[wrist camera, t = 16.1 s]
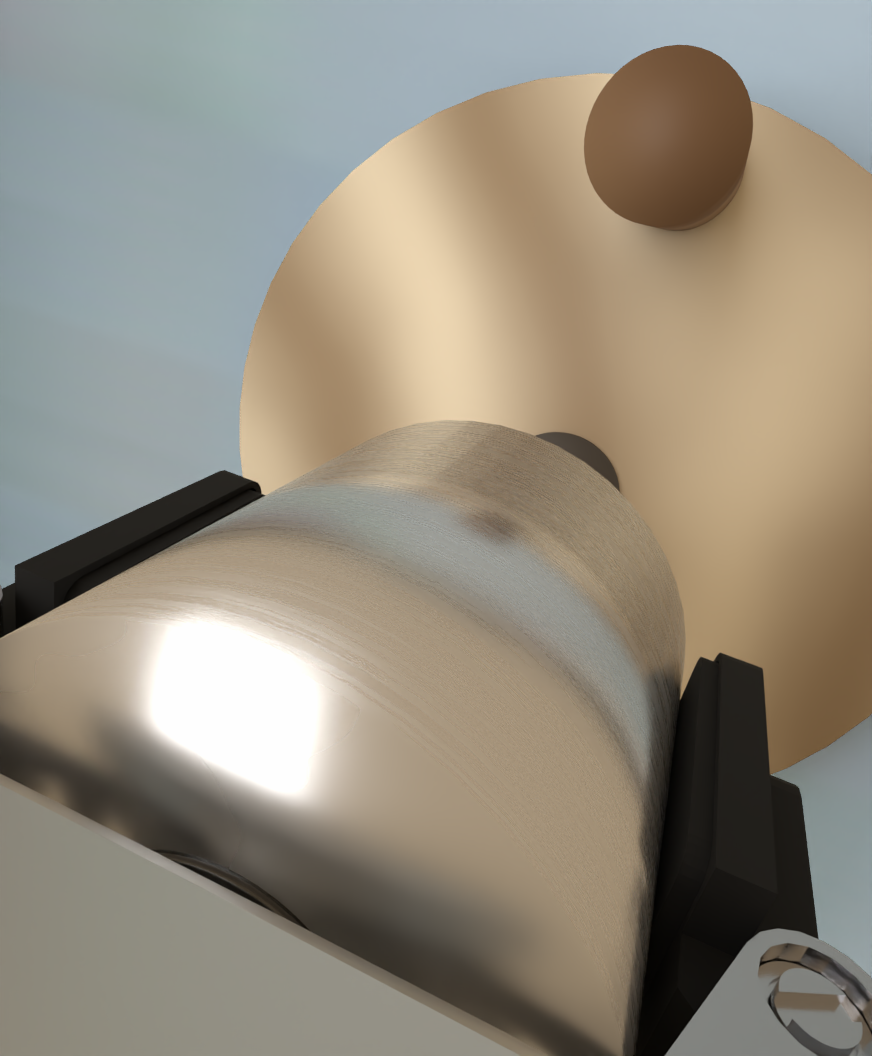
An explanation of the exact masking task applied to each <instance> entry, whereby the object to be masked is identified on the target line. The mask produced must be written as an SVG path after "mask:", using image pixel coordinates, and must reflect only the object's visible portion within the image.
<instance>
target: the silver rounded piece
mask: <svg viewBox="0 0 872 1056" xmlns="http://www.w3.org/2000/svg"><path fill="white" fill-rule="evenodd" d="M685 644H686V634H685V624H684V613H683V607H682V603H681V599H680V595H679V591H678V587H677V583H676V580H675V578H674V575H673V573H672V570H671V568H670V565H669V563H668V560H667V558H666V555H665V553H664V552H663V550H662V548H661V546H660V545H659V543H658V541H657V539H656V538H655V536H654V534H653V532H652V531H651V529H650V527H649V526H648V525H647V524H646V522H645V521H644V520H643V518H642V517H641V516H640V514H639V513H638V512H637V510H636V509H635V508H634V506H633V505H632V504H631V503H630V502H629V501H628V500H627V499H626V498H625V497H624V496H623V495H622V494H621V493H620V492H619V491H618V490H617V489H616V488H615V487H614V486H613V485H612V484H611V483H610V482H609V481H608V480H607V479H606V478H604V477H603V476H602V475H601V474H599V473H598V472H597V471H595V470H594V469H593V468H592V467H590V466H589V465H588V464H587V463H585V462H584V461H582V460H580V459H579V458H577V457H575V456H574V455H572V454H570V453H569V452H567V451H565V450H564V449H562V448H560V447H559V446H557V445H554V444H552V443H550V442H547V441H545V440H543V439H541V438H538V437H536V436H534V435H531V434H529V433H525V432H522V431H519V430H515V429H512V428H508V427H505V426H502V425H496V424H489V423H483V422H476V421H457V420H441V421H433V422H424V423H416V424H412V425H409V426H405V427H401V428H397V429H394V430H390V431H388V432H386V433H383V434H381V435H379V436H376V437H374V438H372V439H370V440H367V441H365V442H364V443H362V444H360V445H358V446H356V447H354V448H352V449H351V450H349V451H347V452H345V453H343V454H341V455H339V456H338V457H336V458H334V459H332V460H330V461H328V462H326V463H325V464H323V465H321V466H319V467H317V468H315V469H313V470H312V471H310V472H308V473H306V474H304V475H302V476H300V477H299V478H297V479H295V480H293V481H291V482H289V483H287V484H286V485H284V486H282V487H280V488H278V489H276V490H274V491H273V492H271V493H269V494H267V495H265V496H263V497H261V498H260V499H258V500H256V501H254V502H252V503H250V504H248V505H247V506H245V507H243V508H241V509H239V510H237V511H235V512H234V513H232V514H230V515H228V516H226V517H224V518H222V519H221V520H219V521H217V522H215V523H213V524H211V525H209V526H208V527H206V528H204V529H202V530H200V531H198V532H197V533H195V534H193V535H191V536H189V537H187V538H185V539H184V540H182V541H180V542H178V543H176V544H174V545H172V546H171V547H169V548H167V549H165V550H163V551H161V552H159V553H158V554H156V555H154V556H152V557H150V558H148V559H146V560H145V561H143V562H141V563H139V564H137V565H135V566H133V567H132V568H130V569H128V570H126V571H124V572H122V573H120V574H119V575H117V576H115V577H113V578H111V579H109V580H107V581H106V582H104V583H102V584H100V585H98V586H96V587H94V588H93V589H91V590H89V591H87V592H85V593H83V594H81V595H80V596H78V597H76V598H74V599H72V600H70V601H68V602H67V603H65V604H63V605H61V606H59V607H57V608H55V609H54V610H52V611H50V612H48V613H46V614H44V615H42V616H41V617H39V618H37V619H35V620H33V621H31V622H29V623H28V624H26V625H24V626H22V627H20V628H18V629H16V630H15V631H13V632H11V633H9V634H7V635H5V636H4V637H2V638H0V774H2V775H4V776H6V777H8V778H10V779H12V780H14V781H16V782H18V783H20V784H22V785H24V786H26V787H28V788H30V789H32V790H34V791H36V792H38V793H40V794H42V795H44V796H46V797H48V798H50V799H52V800H54V801H56V802H58V803H60V804H62V805H64V806H66V807H68V808H70V809H72V810H73V811H75V812H77V813H79V814H81V815H83V816H85V817H87V818H89V819H91V820H93V821H95V822H97V823H99V824H101V825H103V826H105V827H107V828H109V829H111V830H113V831H115V832H117V833H119V834H121V835H123V836H125V837H127V838H129V839H130V840H132V841H134V842H136V843H138V844H140V845H142V846H144V847H146V848H148V849H150V850H152V851H154V852H156V853H158V854H160V855H162V856H164V857H166V858H168V859H170V860H172V861H174V862H176V863H178V864H180V865H182V866H183V867H185V868H187V869H189V870H191V871H193V872H195V873H197V874H199V875H201V876H203V877H205V878H207V879H209V880H211V881H213V882H215V883H217V884H219V885H221V886H223V887H225V888H227V889H228V890H230V891H232V892H234V893H236V894H238V895H240V896H242V897H244V898H246V899H248V900H250V901H252V902H254V903H256V904H258V905H260V906H262V907H264V908H266V909H268V910H270V911H271V912H273V913H275V914H277V915H279V916H281V917H283V918H285V919H287V920H289V921H291V922H293V923H295V924H297V925H299V926H301V927H303V928H305V929H306V930H308V931H310V932H312V933H314V934H316V935H318V936H320V937H322V938H324V939H326V940H328V941H330V942H332V943H334V944H335V945H337V946H339V947H341V948H343V949H345V950H347V951H349V952H351V953H353V954H355V955H357V956H359V957H361V958H363V959H364V960H366V961H368V962H370V963H372V964H374V965H376V966H378V967H380V968H382V969H384V970H386V971H388V972H390V973H392V974H393V975H395V976H397V977H399V978H401V979H403V980H405V981H407V982H409V983H411V984H413V985H415V986H417V987H419V988H420V989H422V990H424V991H426V992H428V993H430V994H432V995H434V996H436V997H438V998H440V999H442V1000H444V1001H446V1002H448V1003H449V1004H451V1005H453V1006H455V1007H457V1008H459V1009H461V1010H463V1011H465V1012H467V1013H469V1014H471V1015H473V1016H475V1017H477V1018H478V1019H480V1020H482V1021H484V1022H486V1023H488V1024H490V1025H492V1026H494V1027H496V1028H498V1029H500V1030H502V1031H504V1032H506V1033H507V1034H509V1035H511V1036H513V1037H515V1038H517V1039H519V1040H521V1041H523V1042H524V1043H526V1044H528V1045H530V1046H532V1047H534V1048H536V1049H537V1050H539V1051H541V1052H543V1053H545V1054H547V1055H549V1056H635V1053H636V1045H637V1037H638V1029H639V1021H640V1013H641V1005H642V997H643V989H644V981H645V973H646V965H647V958H648V950H649V942H650V934H651V926H652V918H653V910H654V902H655V894H656V886H657V878H658V870H659V862H660V854H661V846H662V838H663V830H664V822H665V814H666V806H667V798H668V791H669V783H670V775H671V767H672V759H673V751H674V743H675V735H676V727H677V719H678V711H679V703H680V695H681V687H682V679H683V671H684V661H685Z"/></svg>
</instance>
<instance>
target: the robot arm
mask: <svg viewBox="0 0 872 1056" xmlns="http://www.w3.org/2000/svg"><path fill="white" fill-rule="evenodd" d="M263 496H265V495H263V494H262V492H261V487H260V485H259V484H258V483H257V482H255V481H252V480H249V479H247V478H244V477H241V476H238V475H236V474H233V473H230V472H228V471H225V470H224V471H219V472H217V473H215V474H213V475H211V476H209V477H206V478H204V479H202V480H200V481H198V482H195V483H193V484H191V485H189V486H187V487H185V488H182V489H180V490H178V491H176V492H174V493H172V494H169V495H167V496H165V497H163V498H161V499H159V500H156V501H154V502H152V503H150V504H148V505H146V506H143V507H141V508H139V509H137V510H135V511H133V512H130V513H128V514H126V515H124V516H122V517H119V518H117V519H115V520H113V521H111V522H109V523H106V524H104V525H102V526H100V527H98V528H96V529H93V530H91V531H89V532H87V533H85V534H83V535H80V536H78V537H76V538H74V539H72V540H70V541H67V542H65V543H63V544H61V545H59V546H57V547H54V548H52V549H50V550H48V551H46V552H44V553H41V554H39V555H37V556H35V557H33V558H30V559H28V560H26V561H24V562H22V563H20V564H17V565H15V583H13V584H11V585H9V586H7V587H5V588H3V589H2V588H1V585H0V638H2V637H4V636H5V635H7V634H9V633H11V632H13V631H15V630H16V629H18V628H20V627H22V626H24V625H26V624H28V623H29V622H31V621H33V620H35V619H37V618H39V617H41V616H42V615H44V614H46V613H48V612H50V611H52V610H54V609H55V608H57V607H59V606H61V605H63V604H65V603H67V602H68V601H70V600H72V599H74V598H76V597H78V596H80V595H81V594H83V593H85V592H87V591H89V590H91V589H93V588H94V587H96V586H98V585H100V584H102V583H104V582H106V581H107V580H109V579H111V578H113V577H115V576H117V575H119V574H120V573H122V572H124V571H126V570H128V569H130V568H132V567H133V566H135V565H137V564H139V563H141V562H143V561H145V560H146V559H148V558H150V557H152V556H154V555H156V554H158V553H159V552H161V551H163V550H165V549H167V548H169V547H171V546H172V545H174V544H176V543H178V542H180V541H182V540H184V539H185V538H187V537H189V536H191V535H193V534H195V533H197V532H198V531H200V530H202V529H204V528H206V527H208V526H209V525H211V524H213V523H215V522H217V521H219V520H221V519H222V518H224V517H226V516H228V515H230V514H232V513H234V512H235V511H237V510H239V509H241V508H243V507H245V506H247V505H248V504H250V503H252V502H254V501H256V500H258V499H260V498H261V497H263ZM0 1056H549V1055H547V1054H545V1053H543V1052H541V1051H539V1050H537V1049H536V1048H534V1047H532V1046H530V1045H528V1044H526V1043H524V1042H523V1041H521V1040H519V1039H517V1038H515V1037H513V1036H511V1035H509V1034H507V1033H506V1032H504V1031H502V1030H500V1029H498V1028H496V1027H494V1026H492V1025H490V1024H488V1023H486V1022H484V1021H482V1020H480V1019H478V1018H477V1017H475V1016H473V1015H471V1014H469V1013H467V1012H465V1011H463V1010H461V1009H459V1008H457V1007H455V1006H453V1005H451V1004H449V1003H448V1002H446V1001H444V1000H442V999H440V998H438V997H436V996H434V995H432V994H430V993H428V992H426V991H424V990H422V989H420V988H419V987H417V986H415V985H413V984H411V983H409V982H407V981H405V980H403V979H401V978H399V977H397V976H395V975H393V974H392V973H390V972H388V971H386V970H384V969H382V968H380V967H378V966H376V965H374V964H372V963H370V962H368V961H366V960H364V959H363V958H361V957H359V956H357V955H355V954H353V953H351V952H349V951H347V950H345V949H343V948H341V947H339V946H337V945H335V944H334V943H332V942H330V941H328V940H326V939H324V938H322V937H320V936H318V935H316V934H314V933H312V932H310V931H308V930H306V929H305V928H303V927H301V926H299V925H297V924H295V923H293V922H291V921H289V920H287V919H285V918H283V917H281V916H279V915H277V914H275V913H273V912H271V911H270V910H268V909H266V908H264V907H262V906H260V905H258V904H256V903H254V902H252V901H250V900H248V899H246V898H244V897H242V896H240V895H238V894H236V893H234V892H232V891H230V890H228V889H227V888H225V887H223V886H221V885H219V884H217V883H215V882H213V881H211V880H209V879H207V878H205V877H203V876H201V875H199V874H197V873H195V872H193V871H191V870H189V869H187V868H185V867H183V866H182V865H180V864H178V863H176V862H174V861H172V860H170V859H168V858H166V857H164V856H162V855H160V854H158V853H156V852H154V851H152V850H150V849H148V848H146V847H144V846H142V845H140V844H138V843H136V842H134V841H132V840H130V839H129V838H127V837H125V836H123V835H121V834H119V833H117V832H115V831H113V830H111V829H109V828H107V827H105V826H103V825H101V824H99V823H97V822H95V821H93V820H91V819H89V818H87V817H85V816H83V815H81V814H79V813H77V812H75V811H73V810H72V809H70V808H68V807H66V806H64V805H62V804H60V803H58V802H56V801H54V800H52V799H50V798H48V797H46V796H44V795H42V794H40V793H38V792H36V791H34V790H32V789H30V788H28V787H26V786H24V785H22V784H20V783H18V782H16V781H14V780H12V779H10V778H8V777H6V776H4V775H2V774H0ZM635 1056H872V978H871V977H870V976H869V975H868V974H867V973H866V972H865V971H864V970H862V969H861V968H860V967H859V966H858V965H857V964H856V963H854V962H853V961H852V960H851V959H850V958H849V957H848V956H846V955H845V954H843V953H841V952H840V951H838V950H837V949H835V948H833V947H832V946H830V945H829V944H827V943H826V942H824V941H822V940H819V939H818V932H817V924H816V915H815V907H814V898H813V890H812V882H811V873H810V865H809V856H808V848H807V840H806V831H805V823H804V815H803V806H802V798H801V794H800V790H799V788H798V787H797V786H796V785H794V784H791V783H789V782H786V781H784V780H781V779H779V778H776V777H774V776H771V775H770V767H769V752H768V737H767V721H766V706H765V691H764V676H763V669H762V668H761V667H758V666H755V665H753V664H750V663H747V662H745V661H742V660H739V659H736V658H734V657H731V656H728V655H726V654H723V653H719V654H718V655H717V656H716V658H715V660H714V661H711V660H709V659H706V658H703V657H700V658H699V660H698V661H697V663H696V665H695V667H694V670H693V672H692V674H691V676H690V679H689V681H688V683H687V686H686V688H685V690H684V692H683V695H682V697H681V699H680V703H679V711H678V719H677V727H676V735H675V743H674V751H673V759H672V767H671V775H670V783H669V791H668V798H667V806H666V814H665V822H664V830H663V838H662V846H661V854H660V862H659V870H658V878H657V886H656V894H655V902H654V910H653V918H652V926H651V934H650V942H649V950H648V958H647V965H646V973H645V981H644V989H643V997H642V1005H641V1013H640V1021H639V1029H638V1037H637V1045H636V1053H635Z"/></svg>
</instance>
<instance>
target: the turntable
mask: <svg viewBox="0 0 872 1056" xmlns="http://www.w3.org/2000/svg"><path fill="white" fill-rule="evenodd" d="M441 420H457V421H476V422H483V423H489V424H496V425H502V426H505V427H508V428H512V429H515V430H519V431H522V432H525V433H529V434H531V435H534V436H536V437H538V438H541V439H543V440H545V441H547V442H550V443H552V444H554V445H557V446H559V447H560V448H562V449H564V450H565V451H567V452H569V453H570V454H572V455H574V456H575V457H577V458H579V459H580V460H582V461H584V462H585V463H587V464H588V465H589V466H590V467H592V468H593V469H594V470H595V471H597V472H598V473H599V474H601V475H602V476H603V477H604V478H606V479H607V480H608V481H609V482H610V483H611V484H612V485H613V486H614V487H615V488H616V489H617V490H618V491H619V492H620V493H621V494H622V495H623V496H624V497H625V498H626V499H627V500H628V501H629V502H630V503H631V504H632V505H633V506H634V508H635V509H636V510H637V512H638V513H639V514H640V516H641V517H642V518H643V520H644V521H645V522H646V524H647V525H648V526H649V527H650V529H651V531H652V532H653V534H654V536H655V538H656V539H657V541H658V543H659V545H660V546H661V548H662V550H663V552H664V553H665V555H666V558H667V560H668V563H669V565H670V568H671V570H672V573H673V575H674V578H675V580H676V583H677V587H678V591H679V595H680V599H681V603H682V607H683V613H684V624H685V634H686V644H685V661H684V671H683V679H682V687H681V695H680V699H681V697H682V695H683V692H684V690H685V688H686V686H687V683H688V681H689V679H690V676H691V674H692V672H693V670H694V667H695V665H696V663H697V661H698V660H699V658H700V657H703V658H706V659H709V660H711V661H714V660H715V658H716V656H717V655H718V654H719V653H723V654H726V655H728V656H731V657H734V658H736V659H739V660H742V661H745V662H747V663H750V664H753V665H755V666H758V667H761V668H762V669H763V676H764V691H765V706H766V721H767V737H768V752H769V767H770V774H773V773H776V772H778V771H781V770H783V769H786V768H788V767H790V766H792V765H794V764H795V763H797V762H799V761H801V760H803V759H805V758H807V757H808V756H810V755H812V754H814V753H816V752H818V751H820V750H821V749H823V748H825V747H827V746H829V745H830V744H831V743H833V742H834V741H836V740H837V739H838V738H840V737H841V736H843V735H844V734H845V733H847V732H848V731H849V730H851V729H852V728H854V727H855V726H856V725H858V724H859V723H861V722H862V721H863V720H865V719H866V718H868V717H869V716H870V715H871V714H872V174H870V173H869V172H868V171H866V170H865V169H864V168H863V167H861V166H860V165H859V164H857V163H856V162H855V161H854V160H852V159H851V158H850V157H848V156H847V155H846V154H845V153H843V152H842V151H841V150H839V149H838V148H837V147H836V146H834V145H833V144H832V143H830V142H829V141H828V140H827V139H825V138H824V137H822V136H820V135H818V134H816V133H815V132H813V131H811V130H809V129H807V128H806V127H804V126H802V125H800V124H798V123H796V122H795V121H793V120H791V119H789V118H787V117H786V116H784V115H782V114H780V113H778V112H777V111H775V110H773V109H771V108H768V107H766V106H763V105H760V104H757V103H755V102H752V101H750V98H749V95H748V92H747V90H746V87H745V85H744V83H743V81H742V80H741V78H740V77H739V75H738V74H737V72H736V71H735V70H734V69H733V68H732V67H731V66H730V65H729V63H727V62H726V61H725V60H723V59H722V58H721V57H720V56H718V55H716V54H714V53H712V52H710V51H708V50H705V49H702V48H699V47H694V46H689V45H673V46H665V47H661V48H657V49H653V50H651V51H648V52H646V53H643V54H642V55H640V56H638V57H636V58H634V59H633V60H631V61H630V62H629V63H627V64H626V65H624V66H623V67H622V68H621V69H620V70H619V71H618V72H617V73H615V74H602V73H594V74H584V75H575V76H565V77H555V78H545V79H538V80H534V81H530V82H526V83H522V84H518V85H514V86H510V87H506V88H503V89H499V90H495V91H491V92H487V93H484V94H482V95H479V96H477V97H474V98H472V99H470V100H467V101H465V102H462V103H460V104H457V105H455V106H453V107H450V108H448V109H445V110H443V111H441V112H438V113H436V114H434V115H433V116H431V117H429V118H428V119H426V120H424V121H422V122H421V123H419V124H417V125H416V126H414V127H412V128H411V129H409V130H407V131H406V132H404V133H402V134H401V135H399V136H397V137H395V138H394V139H392V140H391V141H390V142H388V143H387V144H386V145H385V146H383V147H382V148H381V149H380V150H378V151H377V152H376V153H375V154H373V155H372V156H371V157H370V158H368V159H367V160H366V161H364V162H363V163H362V164H361V165H359V166H358V167H357V168H356V169H354V170H353V171H352V172H351V173H350V174H349V175H348V176H347V178H346V179H345V180H344V181H343V182H342V183H341V184H340V185H339V186H338V187H337V188H336V189H335V190H334V191H333V192H332V193H331V194H330V195H329V196H328V197H327V199H326V200H325V201H324V202H323V203H322V204H321V205H320V206H319V207H318V209H317V210H316V212H315V213H314V214H313V216H312V217H311V218H310V220H309V221H308V223H307V224H306V225H305V227H304V228H303V230H302V231H301V232H300V234H299V235H298V236H297V238H296V239H295V241H294V242H293V243H292V245H291V247H290V249H289V251H288V253H287V254H286V256H285V258H284V260H283V262H282V264H281V266H280V267H279V269H278V271H277V273H276V275H275V277H274V279H273V280H272V282H271V284H270V287H269V290H268V292H267V295H266V297H265V300H264V303H263V305H262V308H261V310H260V313H259V316H258V318H257V321H256V323H255V327H254V331H253V335H252V339H251V343H250V347H249V351H248V355H247V359H246V363H245V369H244V377H243V386H242V394H241V402H240V455H241V464H242V473H243V477H244V478H247V479H249V480H252V481H255V482H257V483H258V484H259V485H260V487H261V492H262V494H263V495H267V494H269V493H271V492H273V491H274V490H276V489H278V488H280V487H282V486H284V485H286V484H287V483H289V482H291V481H293V480H295V479H297V478H299V477H300V476H302V475H304V474H306V473H308V472H310V471H312V470H313V469H315V468H317V467H319V466H321V465H323V464H325V463H326V462H328V461H330V460H332V459H334V458H336V457H338V456H339V455H341V454H343V453H345V452H347V451H349V450H351V449H352V448H354V447H356V446H358V445H360V444H362V443H364V442H365V441H367V440H370V439H372V438H374V437H376V436H379V435H381V434H383V433H386V432H388V431H390V430H394V429H397V428H401V427H405V426H409V425H412V424H416V423H424V422H433V421H441Z"/></svg>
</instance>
